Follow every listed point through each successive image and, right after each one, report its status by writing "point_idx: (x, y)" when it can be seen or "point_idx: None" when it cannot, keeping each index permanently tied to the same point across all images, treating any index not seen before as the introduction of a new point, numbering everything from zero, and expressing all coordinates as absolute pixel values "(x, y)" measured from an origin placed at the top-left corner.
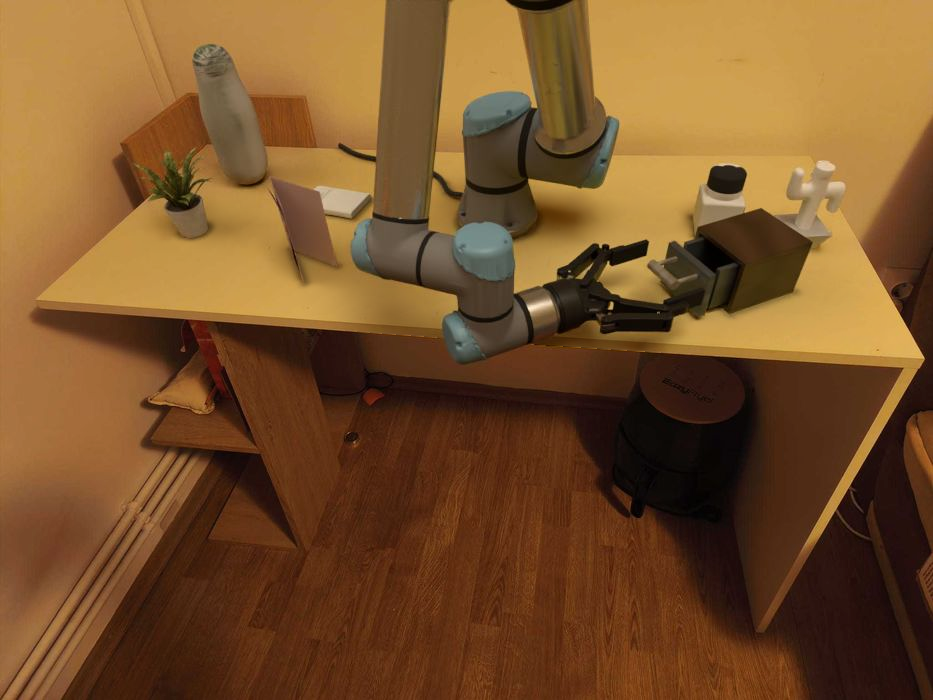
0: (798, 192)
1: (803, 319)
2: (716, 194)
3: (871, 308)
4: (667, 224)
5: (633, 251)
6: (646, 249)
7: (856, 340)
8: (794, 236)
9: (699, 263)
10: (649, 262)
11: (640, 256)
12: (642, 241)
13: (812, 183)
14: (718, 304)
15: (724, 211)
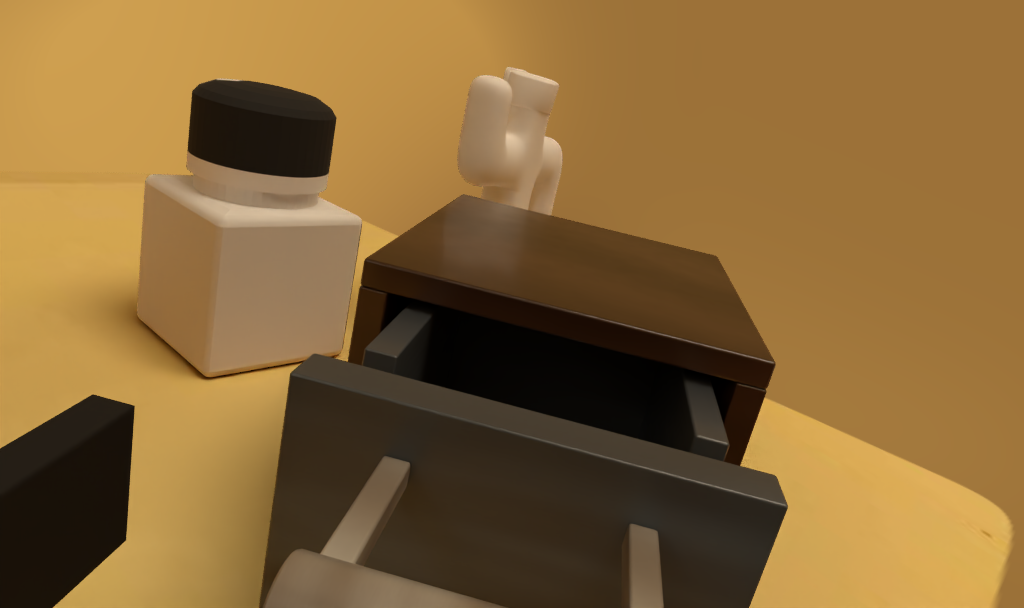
0: (503, 153)
1: (798, 532)
2: (258, 182)
3: (797, 428)
4: (48, 361)
5: (5, 554)
6: (121, 485)
7: (934, 530)
8: (663, 249)
9: (616, 441)
10: (275, 601)
11: (80, 570)
12: (69, 421)
13: (514, 131)
14: None
15: (301, 248)
